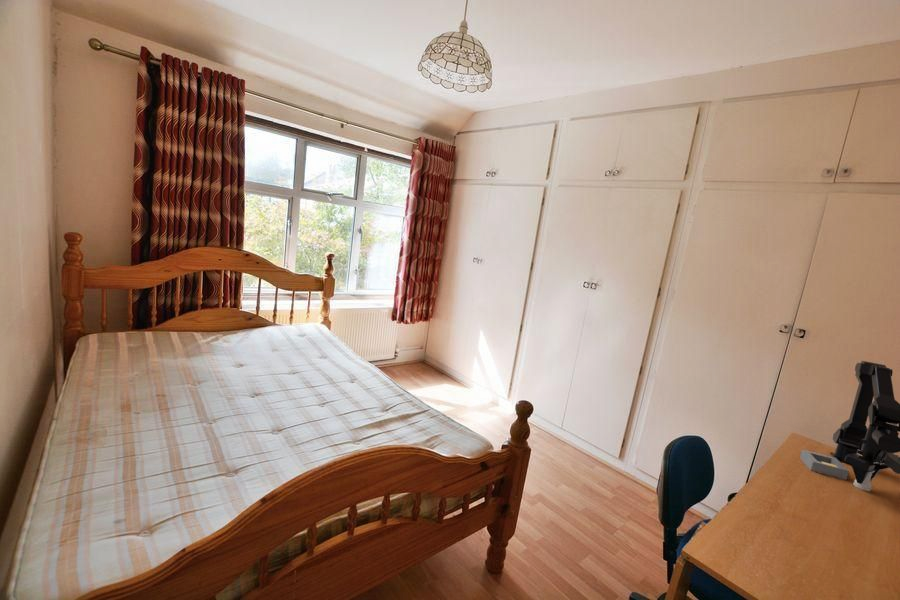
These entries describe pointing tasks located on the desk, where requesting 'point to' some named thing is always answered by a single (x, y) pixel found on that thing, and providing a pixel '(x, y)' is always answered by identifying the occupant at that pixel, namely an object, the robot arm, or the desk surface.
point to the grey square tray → (824, 464)
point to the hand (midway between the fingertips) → (863, 482)
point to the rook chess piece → (865, 483)
